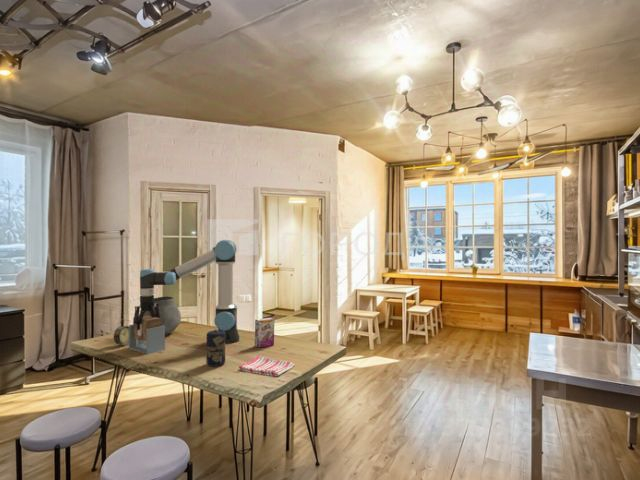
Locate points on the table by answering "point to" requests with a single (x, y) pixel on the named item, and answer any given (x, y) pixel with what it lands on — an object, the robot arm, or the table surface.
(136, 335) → the brown box
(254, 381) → the table surface
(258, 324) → the candy bar box
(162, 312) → the ceramic pot
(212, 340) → the canister
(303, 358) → the table surface
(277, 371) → the dish towel
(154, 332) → the cradle
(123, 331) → the alarm clock
